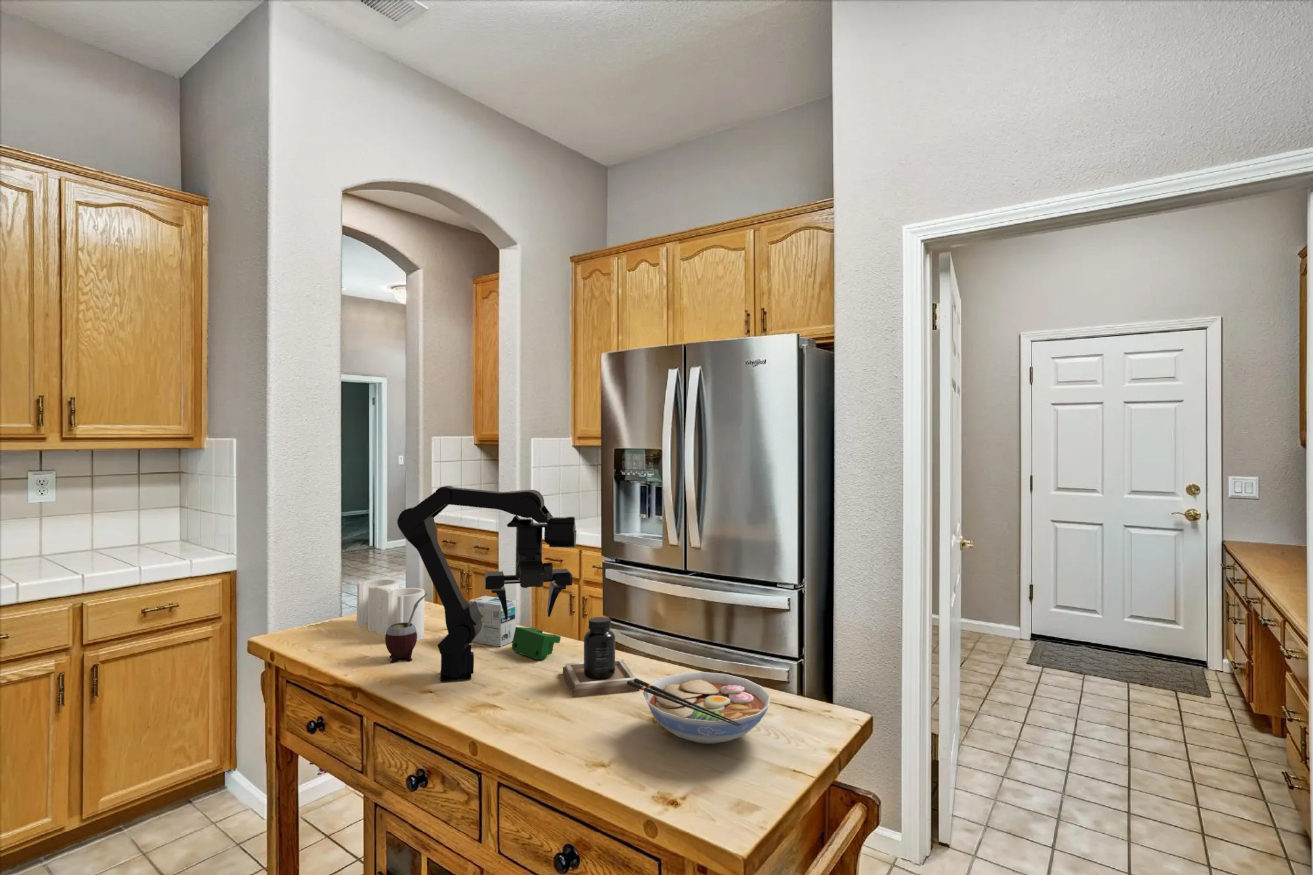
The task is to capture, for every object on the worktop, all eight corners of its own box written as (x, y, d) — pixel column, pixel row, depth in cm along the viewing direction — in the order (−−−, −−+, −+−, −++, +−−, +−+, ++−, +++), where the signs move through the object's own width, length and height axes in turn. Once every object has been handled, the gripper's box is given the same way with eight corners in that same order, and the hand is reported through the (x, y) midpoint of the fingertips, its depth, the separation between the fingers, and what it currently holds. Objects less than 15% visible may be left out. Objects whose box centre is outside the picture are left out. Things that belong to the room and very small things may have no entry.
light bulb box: (517, 640, 170) (517, 599, 170) (500, 647, 164) (501, 604, 164) (484, 634, 175) (485, 594, 175) (467, 641, 169) (468, 599, 169)
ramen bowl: (801, 739, 116) (802, 693, 116) (717, 784, 100) (718, 731, 100) (697, 697, 134) (697, 658, 134) (612, 731, 118) (612, 685, 118)
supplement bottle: (619, 671, 145) (620, 616, 145) (608, 681, 138) (609, 625, 138) (590, 667, 146) (591, 614, 146) (578, 678, 140) (579, 622, 140)
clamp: (550, 673, 159) (566, 641, 158) (531, 673, 155) (548, 640, 154) (526, 643, 167) (542, 613, 166) (507, 643, 163) (523, 611, 162)
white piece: (432, 637, 172) (433, 591, 172) (397, 645, 165) (397, 597, 165) (388, 618, 189) (388, 576, 189) (354, 625, 181) (354, 581, 182)
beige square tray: (573, 697, 133) (573, 685, 133) (562, 673, 147) (562, 663, 147) (639, 690, 137) (639, 679, 137) (623, 668, 151) (623, 658, 151)
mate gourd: (378, 661, 152) (379, 597, 152) (402, 651, 160) (403, 590, 160) (403, 666, 150) (404, 600, 150) (427, 655, 157) (428, 593, 157)
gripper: (487, 554, 134) (485, 631, 134) (577, 551, 140) (576, 624, 139) (484, 546, 145) (483, 616, 145) (568, 543, 150) (567, 611, 150)
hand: (527, 617), depth 144 cm, fingers open, 9 cm apart
